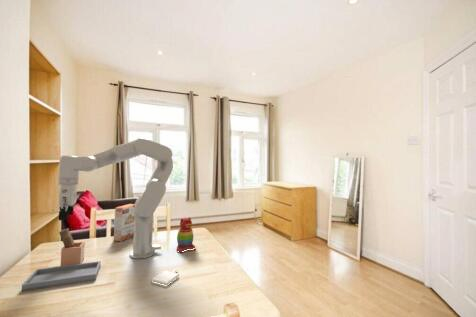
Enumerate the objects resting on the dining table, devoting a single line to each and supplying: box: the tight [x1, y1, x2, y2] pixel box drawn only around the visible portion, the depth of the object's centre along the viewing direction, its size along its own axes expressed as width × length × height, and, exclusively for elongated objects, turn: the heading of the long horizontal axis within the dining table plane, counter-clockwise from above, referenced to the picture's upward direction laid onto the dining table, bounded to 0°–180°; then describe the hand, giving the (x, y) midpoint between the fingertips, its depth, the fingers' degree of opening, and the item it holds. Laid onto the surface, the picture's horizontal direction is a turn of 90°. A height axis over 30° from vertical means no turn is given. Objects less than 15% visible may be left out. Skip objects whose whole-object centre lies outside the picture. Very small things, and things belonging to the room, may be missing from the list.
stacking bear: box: [176, 217, 196, 253], centre depth 131 cm, size 11×10×18 cm
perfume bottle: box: [151, 268, 180, 285], centre depth 98 cm, size 8×2×12 cm
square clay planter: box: [60, 241, 86, 266], centre depth 108 cm, size 8×8×9 cm
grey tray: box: [21, 260, 102, 292], centre depth 95 cm, size 24×13×2 cm, turn 114°
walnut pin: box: [58, 227, 76, 248], centre depth 107 cm, size 8×3×16 cm, turn 114°
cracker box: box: [113, 203, 135, 243], centre depth 145 cm, size 14×6×21 cm, turn 168°
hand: (66, 217), depth 106 cm, fingers open, 9 cm apart
